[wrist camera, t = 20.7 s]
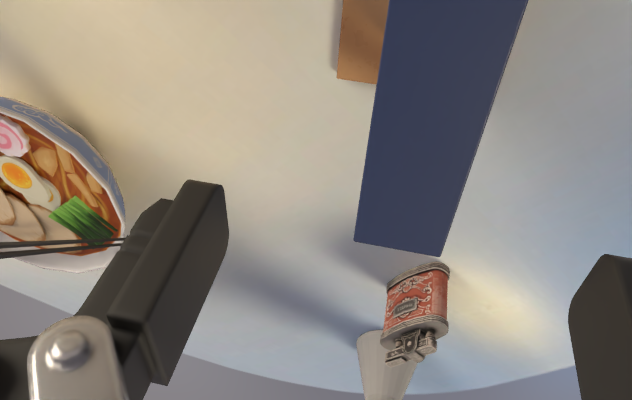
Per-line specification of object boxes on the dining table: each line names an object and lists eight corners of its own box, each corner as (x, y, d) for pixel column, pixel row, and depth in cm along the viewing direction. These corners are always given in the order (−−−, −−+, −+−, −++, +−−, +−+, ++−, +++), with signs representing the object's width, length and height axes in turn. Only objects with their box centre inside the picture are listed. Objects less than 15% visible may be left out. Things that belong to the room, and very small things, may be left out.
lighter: (436, 257, 53) (432, 339, 46) (456, 274, 55) (455, 357, 48) (380, 283, 58) (369, 361, 51) (400, 298, 60) (392, 376, 52)
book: (441, 258, 23) (547, -48, 14) (352, 241, 23) (396, -65, 14) (448, 51, 37) (503, -168, 28) (393, 43, 37) (428, -174, 28)
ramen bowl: (90, 32, 43) (33, 81, 37) (200, 222, 57) (170, 278, 52) (-105, 74, 51) (-177, 119, 46) (33, 230, 66) (-8, 280, 60)
